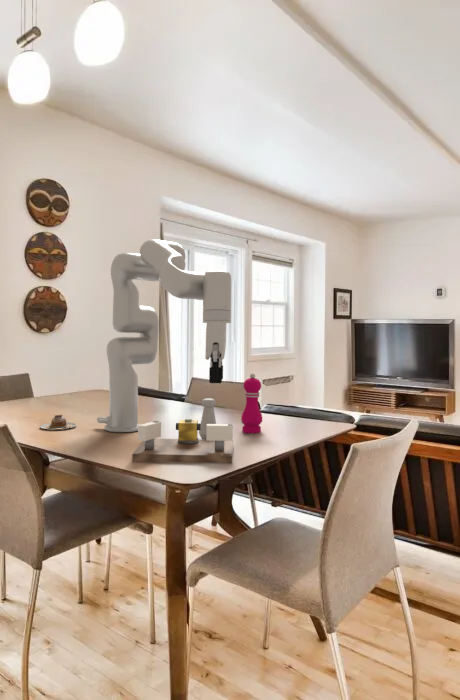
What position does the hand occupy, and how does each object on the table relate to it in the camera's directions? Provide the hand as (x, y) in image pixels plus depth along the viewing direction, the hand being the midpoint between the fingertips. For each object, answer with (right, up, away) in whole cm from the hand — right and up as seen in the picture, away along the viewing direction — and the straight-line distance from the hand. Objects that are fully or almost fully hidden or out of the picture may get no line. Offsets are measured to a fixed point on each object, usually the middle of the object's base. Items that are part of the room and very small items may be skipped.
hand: (216, 381), depth 135 cm
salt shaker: (-3, -20, +23) cm, 31 cm away
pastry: (-56, -19, +39) cm, 71 cm away
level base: (-9, -21, +5) cm, 23 cm away
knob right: (+1, -19, +1) cm, 19 cm away
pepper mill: (+11, -20, +37) cm, 43 cm away
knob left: (-18, -19, +1) cm, 26 cm away
